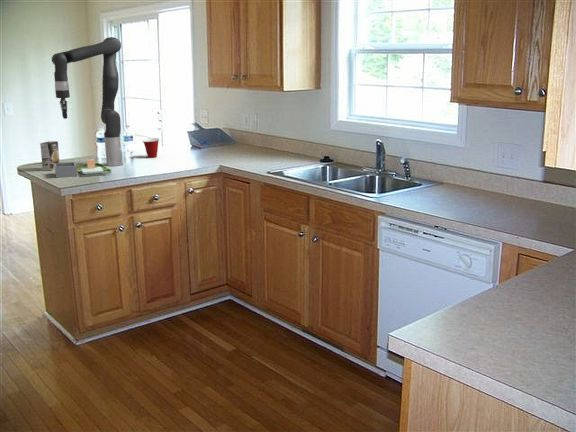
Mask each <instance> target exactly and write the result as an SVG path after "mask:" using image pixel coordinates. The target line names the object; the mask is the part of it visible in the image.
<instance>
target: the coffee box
mask: <svg viewBox="0 0 576 432" xmlns="http://www.w3.org/2000/svg"><path fill="white" fill-rule="evenodd" d="M39 144H40V154H41V156H40V157H41V165H42V171H49V172H52V171H55V164H54V163H61V160H60V150H59V141H56V140H55V141H53V140H52V141H44V142H40V143H39Z"/></svg>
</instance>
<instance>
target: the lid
mask: <svg viewBox="0 0 576 432" xmlns="http://www.w3.org/2000/svg"><path fill="white" fill-rule="evenodd" d="M86 164H87V167H82V168H80V169H81V170H80V171H82V173H83V174H84V173H85V175H89V174H101V172H103V171H104V169H103V168H102V167H101V166H96V162H95V159H93V158H91V159H86Z"/></svg>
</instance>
